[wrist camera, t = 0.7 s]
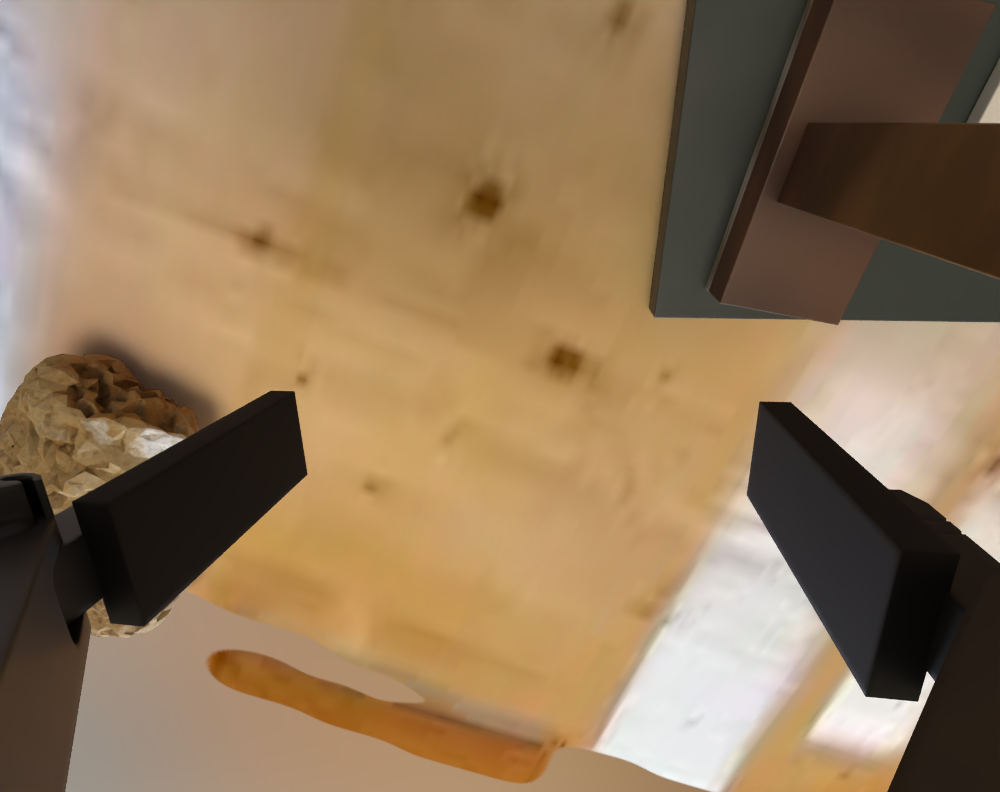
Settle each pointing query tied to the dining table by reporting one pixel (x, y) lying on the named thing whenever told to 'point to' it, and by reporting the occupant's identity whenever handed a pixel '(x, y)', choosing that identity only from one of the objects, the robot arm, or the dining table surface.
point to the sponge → (88, 437)
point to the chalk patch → (988, 101)
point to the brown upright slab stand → (863, 159)
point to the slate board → (728, 151)
